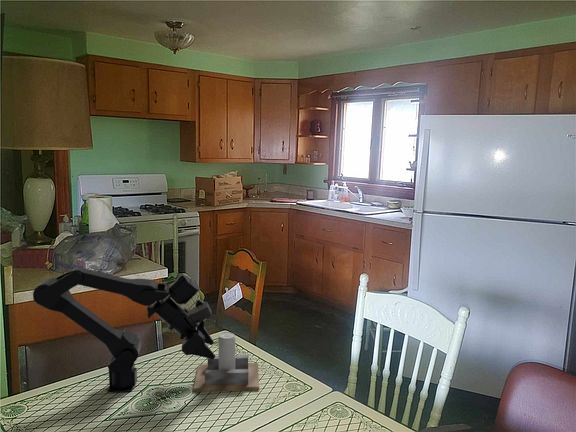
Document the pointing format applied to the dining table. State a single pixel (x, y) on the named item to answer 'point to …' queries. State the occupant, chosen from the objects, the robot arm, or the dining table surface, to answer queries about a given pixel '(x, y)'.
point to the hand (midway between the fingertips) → (213, 350)
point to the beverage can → (226, 351)
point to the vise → (227, 376)
